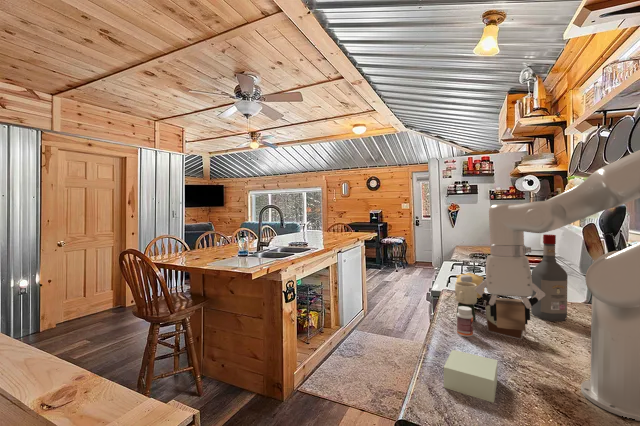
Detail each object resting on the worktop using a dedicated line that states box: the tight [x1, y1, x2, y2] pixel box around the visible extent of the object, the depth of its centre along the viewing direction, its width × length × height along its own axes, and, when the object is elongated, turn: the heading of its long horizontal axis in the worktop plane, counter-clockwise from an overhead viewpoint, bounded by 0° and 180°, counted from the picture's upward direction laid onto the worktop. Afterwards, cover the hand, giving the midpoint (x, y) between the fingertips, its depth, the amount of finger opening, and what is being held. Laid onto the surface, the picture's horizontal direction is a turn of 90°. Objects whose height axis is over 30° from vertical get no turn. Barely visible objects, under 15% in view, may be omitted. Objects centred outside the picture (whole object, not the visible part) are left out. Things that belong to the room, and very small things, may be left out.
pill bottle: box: [456, 306, 474, 338], centre depth 98 cm, size 5×5×8 cm
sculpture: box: [455, 272, 486, 299], centre depth 136 cm, size 12×12×11 cm
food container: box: [482, 299, 524, 340], centre depth 99 cm, size 12×6×10 cm, turn 47°
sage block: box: [443, 349, 499, 404], centre depth 71 cm, size 10×10×5 cm
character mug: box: [454, 281, 478, 322], centre depth 109 cm, size 11×7×13 cm, turn 135°
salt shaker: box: [461, 275, 475, 307], centre depth 122 cm, size 6×6×13 cm
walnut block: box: [495, 297, 527, 332], centre depth 79 cm, size 6×6×6 cm
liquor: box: [530, 234, 569, 322], centre depth 111 cm, size 9×9×30 cm
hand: (509, 320), depth 79 cm, fingers closed on walnut block, 6 cm apart
